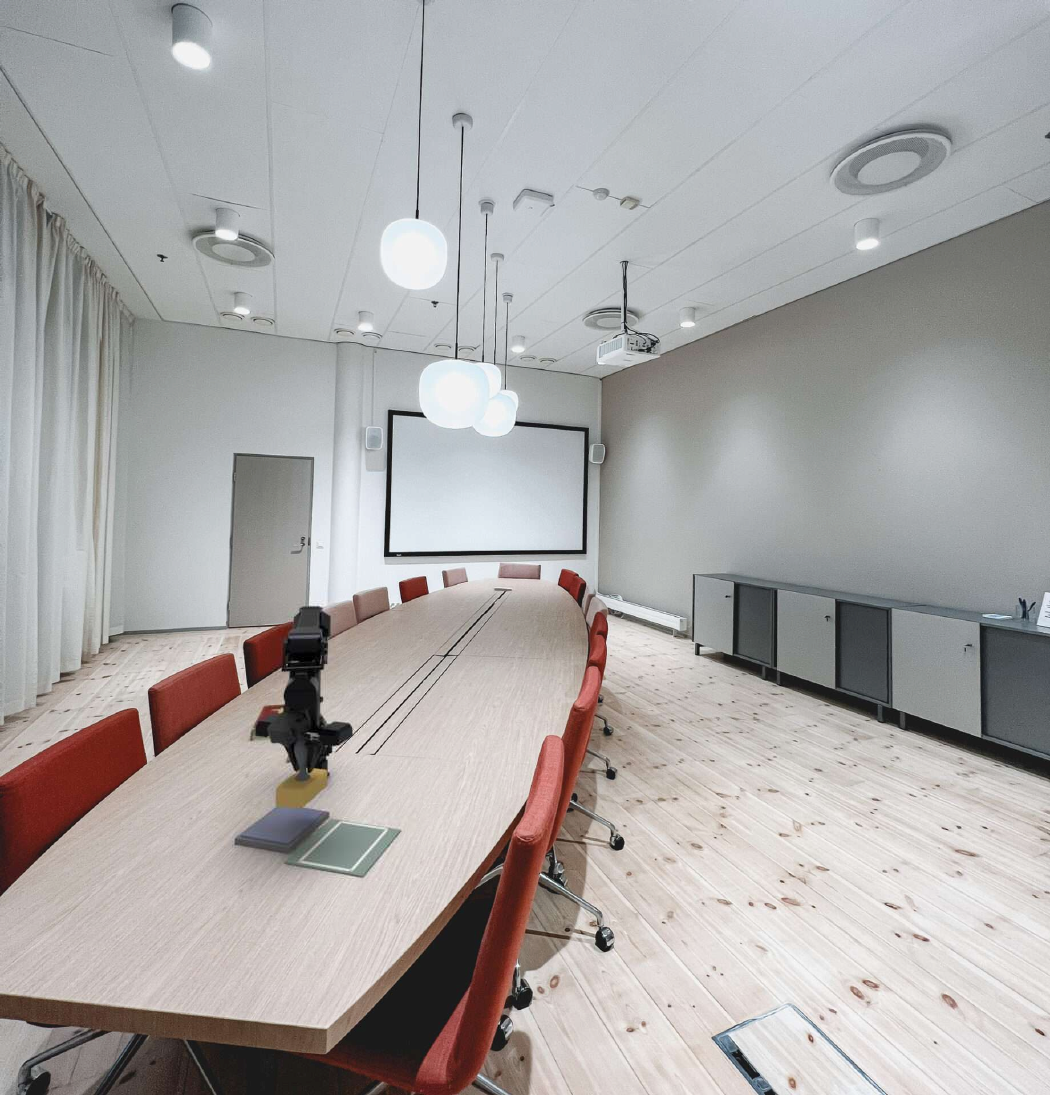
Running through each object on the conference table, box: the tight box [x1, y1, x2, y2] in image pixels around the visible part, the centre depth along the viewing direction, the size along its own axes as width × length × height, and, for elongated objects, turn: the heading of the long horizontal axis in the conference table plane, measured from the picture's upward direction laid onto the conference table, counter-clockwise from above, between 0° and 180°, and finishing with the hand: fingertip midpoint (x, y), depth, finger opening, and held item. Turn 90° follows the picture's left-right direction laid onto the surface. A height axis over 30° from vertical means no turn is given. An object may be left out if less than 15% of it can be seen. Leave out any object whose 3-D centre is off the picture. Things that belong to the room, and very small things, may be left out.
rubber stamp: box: [275, 737, 328, 809], centre depth 116 cm, size 10×6×12 cm, turn 171°
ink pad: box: [234, 806, 330, 854], centre depth 119 cm, size 12×14×2 cm
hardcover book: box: [250, 703, 285, 742], centre depth 176 cm, size 12×21×4 cm, turn 16°
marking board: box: [283, 818, 402, 878], centre depth 113 cm, size 16×16×1 cm
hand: (303, 771), depth 116 cm, fingers closed on rubber stamp, 3 cm apart
